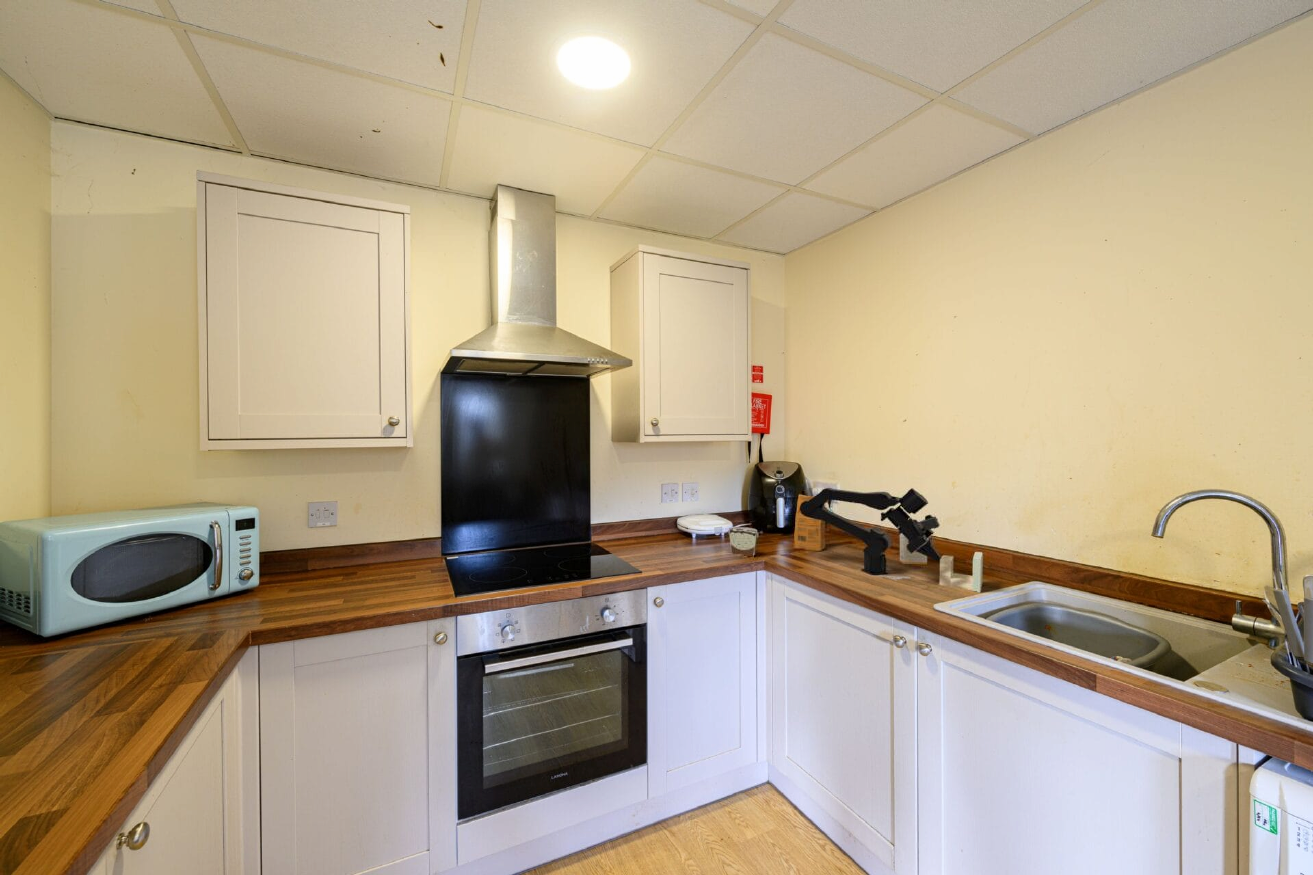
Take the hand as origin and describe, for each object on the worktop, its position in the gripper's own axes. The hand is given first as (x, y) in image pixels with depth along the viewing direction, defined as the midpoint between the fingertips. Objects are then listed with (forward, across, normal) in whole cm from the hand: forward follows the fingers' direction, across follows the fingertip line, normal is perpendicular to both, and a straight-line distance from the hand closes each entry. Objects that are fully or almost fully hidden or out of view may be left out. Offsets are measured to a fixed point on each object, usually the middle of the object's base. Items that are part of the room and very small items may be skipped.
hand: (940, 560), depth 169 cm
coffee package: (-30, +23, +41) cm, 56 cm away
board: (+12, 0, -2) cm, 12 cm away
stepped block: (+8, 0, +2) cm, 8 cm away
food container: (-42, -2, +53) cm, 68 cm away
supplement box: (-3, +22, +13) cm, 25 cm away
